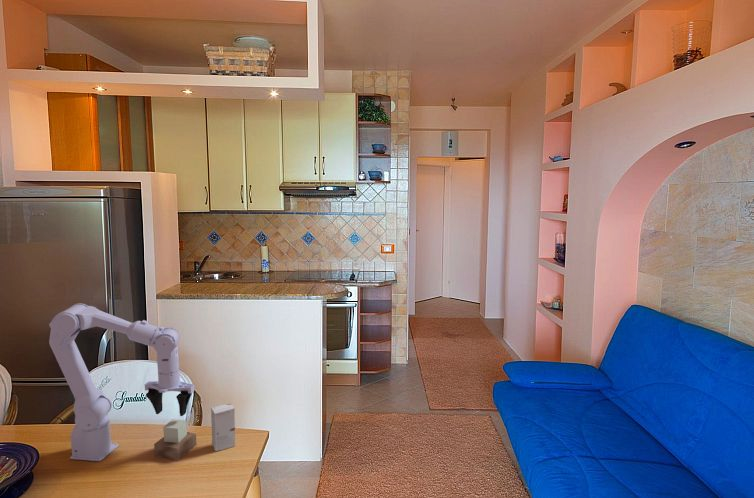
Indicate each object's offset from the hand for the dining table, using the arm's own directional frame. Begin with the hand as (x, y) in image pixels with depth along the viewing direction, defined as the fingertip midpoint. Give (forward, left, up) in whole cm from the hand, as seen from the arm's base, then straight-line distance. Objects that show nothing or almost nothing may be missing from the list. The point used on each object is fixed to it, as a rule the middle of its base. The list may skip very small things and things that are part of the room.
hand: (171, 413), depth 132 cm
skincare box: (+15, +2, -11) cm, 19 cm away
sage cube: (+2, -2, -7) cm, 7 cm away
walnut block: (+2, -2, -11) cm, 11 cm away
